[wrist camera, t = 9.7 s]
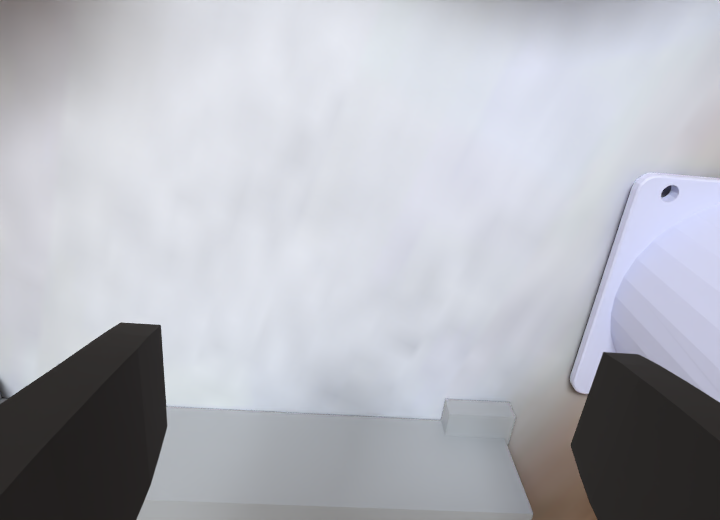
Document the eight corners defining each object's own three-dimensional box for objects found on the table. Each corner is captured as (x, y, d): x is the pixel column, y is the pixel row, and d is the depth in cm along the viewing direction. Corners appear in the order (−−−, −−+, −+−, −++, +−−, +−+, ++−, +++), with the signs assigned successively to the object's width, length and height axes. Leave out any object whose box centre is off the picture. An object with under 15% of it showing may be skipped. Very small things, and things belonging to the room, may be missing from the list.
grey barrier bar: (509, 402, 20) (547, 490, 16) (493, 462, 21) (524, 557, 18) (-79, 371, 18) (-179, 462, 15) (-58, 438, 20) (-147, 537, 16)
